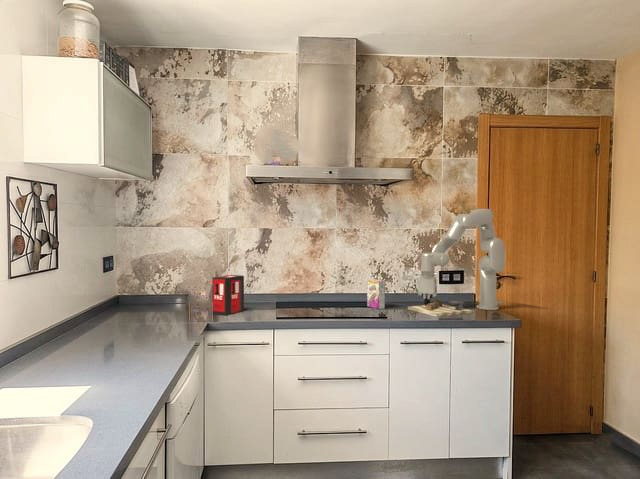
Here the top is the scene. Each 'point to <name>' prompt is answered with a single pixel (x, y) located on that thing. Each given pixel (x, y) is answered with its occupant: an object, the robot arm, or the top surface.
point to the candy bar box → (376, 294)
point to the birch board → (439, 310)
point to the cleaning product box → (228, 294)
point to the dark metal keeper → (457, 304)
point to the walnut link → (434, 304)
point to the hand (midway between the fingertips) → (427, 305)
